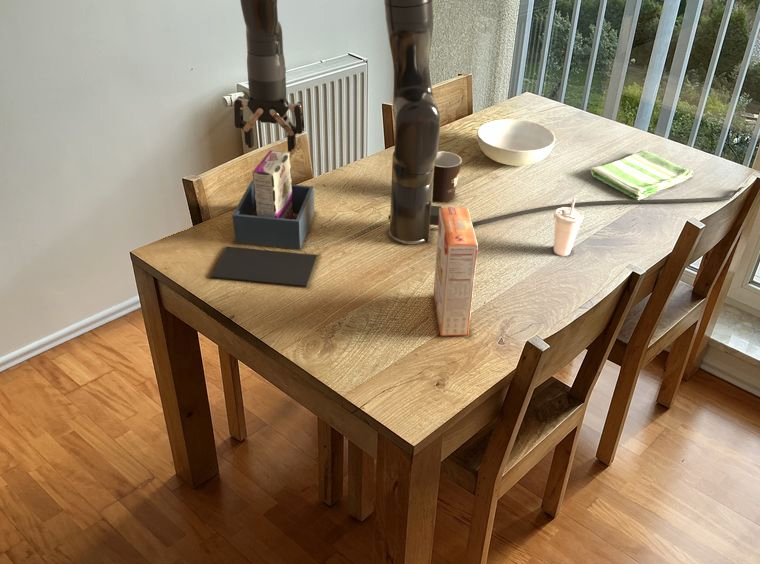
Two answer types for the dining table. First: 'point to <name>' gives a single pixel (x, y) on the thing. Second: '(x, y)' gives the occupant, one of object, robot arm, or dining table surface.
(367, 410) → the dining table surface
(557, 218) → the smoothie
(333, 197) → the dining table surface
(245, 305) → the dining table surface
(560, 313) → the dining table surface
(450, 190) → the coffee mug
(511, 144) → the serving bowl
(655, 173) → the dish towel
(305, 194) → the open storage bin
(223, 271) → the rubber mat
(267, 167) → the candy bar box
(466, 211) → the cracker box
